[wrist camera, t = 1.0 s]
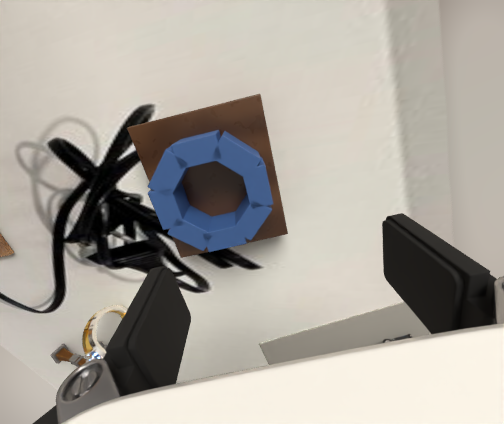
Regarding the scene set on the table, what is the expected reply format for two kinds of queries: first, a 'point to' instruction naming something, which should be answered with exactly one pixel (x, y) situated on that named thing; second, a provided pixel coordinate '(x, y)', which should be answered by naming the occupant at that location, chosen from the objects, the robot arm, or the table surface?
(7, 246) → the mat
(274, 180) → the platform
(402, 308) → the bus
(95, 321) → the ring
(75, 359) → the wooden post with brackets
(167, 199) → the ring
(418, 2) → the table surface
